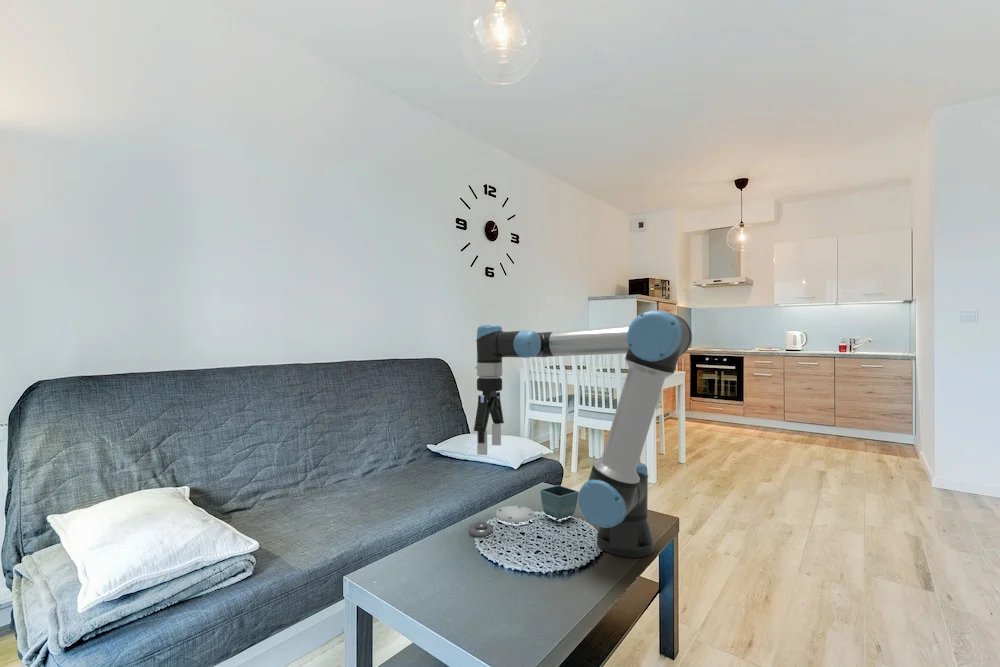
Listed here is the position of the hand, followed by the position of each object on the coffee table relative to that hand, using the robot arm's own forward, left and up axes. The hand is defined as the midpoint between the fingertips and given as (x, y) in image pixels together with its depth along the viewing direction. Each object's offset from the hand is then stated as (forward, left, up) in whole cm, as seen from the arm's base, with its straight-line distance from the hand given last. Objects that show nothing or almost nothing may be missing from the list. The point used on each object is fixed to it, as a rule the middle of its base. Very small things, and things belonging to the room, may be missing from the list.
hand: (489, 449), depth 135 cm
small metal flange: (+2, +2, -24) cm, 24 cm away
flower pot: (-17, -17, -24) cm, 34 cm away
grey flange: (-4, -12, -24) cm, 27 cm away
